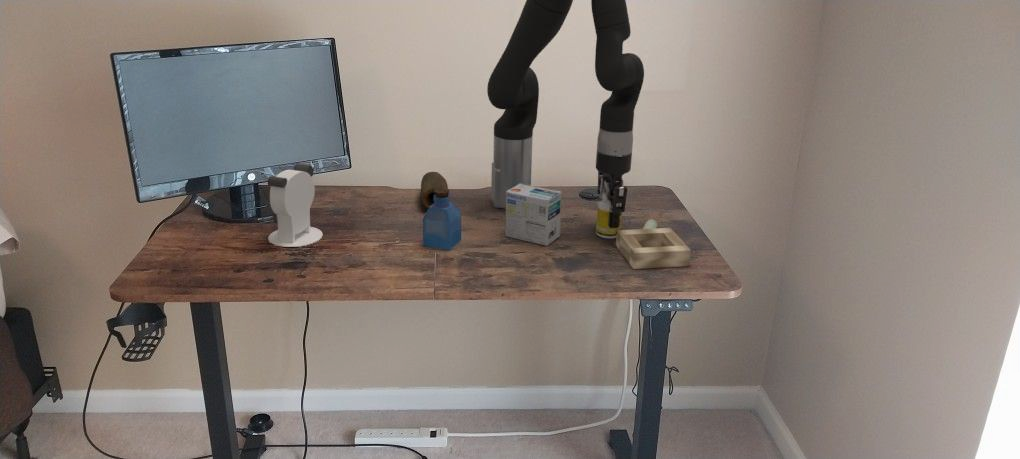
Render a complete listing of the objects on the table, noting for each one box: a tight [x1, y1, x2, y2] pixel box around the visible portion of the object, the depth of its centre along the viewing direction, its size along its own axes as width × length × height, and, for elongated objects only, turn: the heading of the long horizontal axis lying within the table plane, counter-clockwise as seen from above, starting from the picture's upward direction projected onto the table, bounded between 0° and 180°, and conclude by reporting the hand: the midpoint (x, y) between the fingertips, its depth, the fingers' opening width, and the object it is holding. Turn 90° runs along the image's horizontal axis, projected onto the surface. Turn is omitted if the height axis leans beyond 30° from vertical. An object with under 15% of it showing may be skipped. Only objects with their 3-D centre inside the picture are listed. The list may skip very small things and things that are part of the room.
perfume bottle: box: [422, 188, 462, 251], centre depth 166 cm, size 6×6×12 cm
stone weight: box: [420, 171, 449, 210], centre depth 190 cm, size 15×7×7 cm, turn 10°
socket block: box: [615, 227, 692, 270], centre depth 164 cm, size 12×12×4 cm
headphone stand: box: [267, 163, 323, 248], centre depth 166 cm, size 12×11×15 cm
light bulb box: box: [504, 184, 563, 247], centre depth 170 cm, size 11×7×11 cm, turn 62°
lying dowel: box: [642, 218, 658, 229], centre depth 174 cm, size 8×3×3 cm
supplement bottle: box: [595, 191, 623, 240], centre depth 172 cm, size 5×5×10 cm
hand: (609, 221), depth 173 cm, fingers open, 6 cm apart
